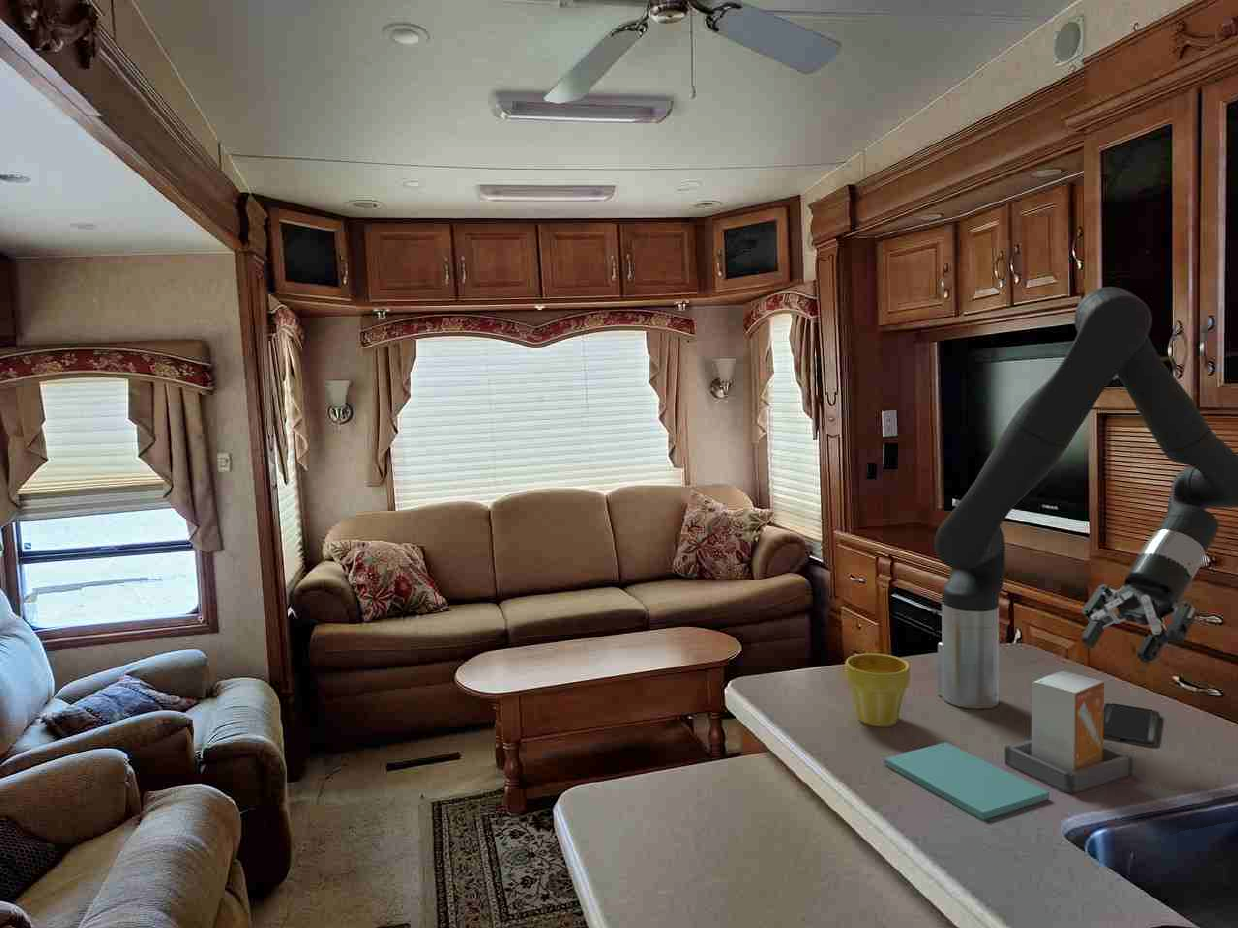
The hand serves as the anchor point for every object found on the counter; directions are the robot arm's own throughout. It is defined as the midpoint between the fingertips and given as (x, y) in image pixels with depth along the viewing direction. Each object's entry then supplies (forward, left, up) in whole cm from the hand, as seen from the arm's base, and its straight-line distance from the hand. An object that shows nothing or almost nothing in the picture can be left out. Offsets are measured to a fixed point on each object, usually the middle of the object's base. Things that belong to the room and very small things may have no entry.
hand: (1113, 651), depth 121 cm
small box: (0, -10, -16) cm, 19 cm away
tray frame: (0, -10, -16) cm, 18 cm away
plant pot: (-27, -21, -16) cm, 38 cm away
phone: (-6, +12, -16) cm, 21 cm away
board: (-4, -26, -16) cm, 30 cm away
